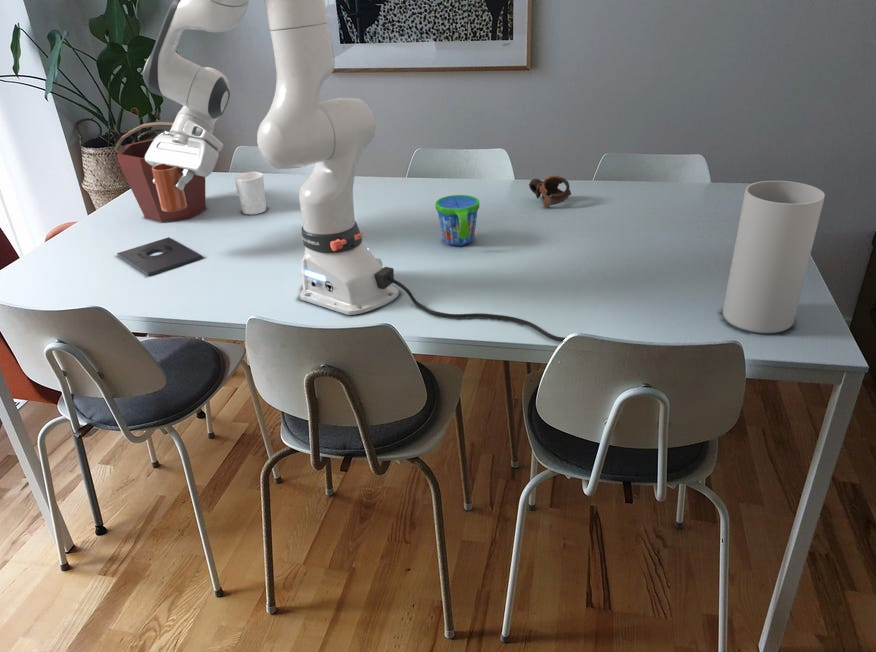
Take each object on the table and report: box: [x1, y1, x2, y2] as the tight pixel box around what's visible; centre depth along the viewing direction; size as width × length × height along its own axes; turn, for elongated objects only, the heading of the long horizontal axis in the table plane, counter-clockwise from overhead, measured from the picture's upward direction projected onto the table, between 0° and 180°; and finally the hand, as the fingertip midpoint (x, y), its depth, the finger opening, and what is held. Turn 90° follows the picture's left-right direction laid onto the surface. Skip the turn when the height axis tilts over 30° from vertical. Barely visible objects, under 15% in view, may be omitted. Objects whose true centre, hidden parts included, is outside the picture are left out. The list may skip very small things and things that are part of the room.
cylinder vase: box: [722, 180, 826, 334], centre depth 134 cm, size 12×12×25 cm
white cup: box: [233, 171, 267, 215], centre depth 206 cm, size 8×8×10 cm
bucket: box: [114, 121, 207, 223], centre depth 204 cm, size 24×22×25 cm
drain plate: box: [116, 236, 203, 277], centre depth 182 cm, size 18×14×1 cm
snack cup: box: [435, 194, 481, 247], centre depth 179 cm, size 16×10×10 cm
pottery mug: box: [528, 175, 572, 209], centre depth 200 cm, size 12×10×8 cm
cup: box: [152, 164, 187, 212], centre depth 174 cm, size 6×6×10 cm
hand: (167, 186), depth 173 cm, fingers closed on cup, 6 cm apart
